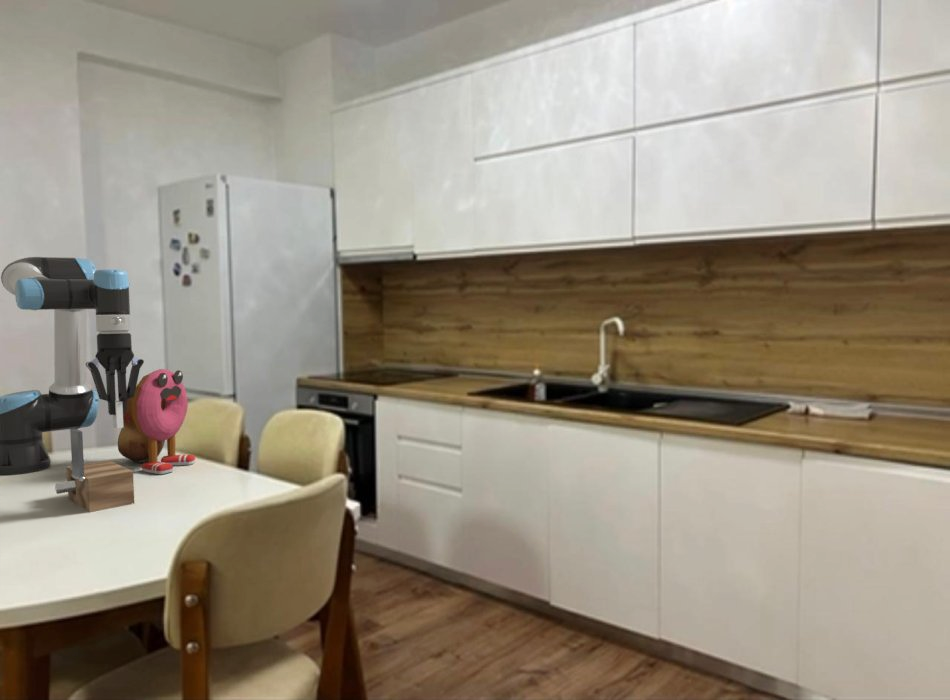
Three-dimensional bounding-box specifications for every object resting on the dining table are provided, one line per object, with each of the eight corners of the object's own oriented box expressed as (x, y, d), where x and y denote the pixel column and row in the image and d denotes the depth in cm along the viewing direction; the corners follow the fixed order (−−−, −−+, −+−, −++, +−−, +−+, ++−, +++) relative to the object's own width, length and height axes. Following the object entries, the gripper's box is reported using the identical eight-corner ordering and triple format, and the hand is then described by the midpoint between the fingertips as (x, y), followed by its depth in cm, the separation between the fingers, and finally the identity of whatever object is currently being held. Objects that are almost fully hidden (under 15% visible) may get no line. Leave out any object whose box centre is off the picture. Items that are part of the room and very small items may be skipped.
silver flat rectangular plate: (71, 477, 165) (69, 428, 164) (77, 476, 166) (74, 428, 165) (80, 482, 160) (77, 432, 159) (85, 481, 161) (83, 431, 160)
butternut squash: (110, 463, 212) (106, 384, 210) (151, 455, 223) (148, 379, 221) (134, 469, 204) (130, 386, 202) (175, 460, 215) (172, 382, 213)
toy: (158, 477, 194) (154, 373, 192) (127, 476, 196) (123, 372, 194) (203, 460, 214) (199, 366, 212) (174, 459, 216) (170, 366, 215)
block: (68, 497, 174) (66, 466, 173) (110, 489, 181) (109, 460, 181) (89, 512, 161) (88, 479, 161) (134, 503, 168) (132, 471, 168)
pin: (120, 484, 180) (119, 466, 180) (126, 488, 177) (125, 469, 176) (54, 496, 170) (53, 476, 169) (60, 500, 166) (59, 480, 166)
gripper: (89, 333, 160) (94, 432, 162) (147, 331, 170) (151, 425, 171) (79, 333, 166) (84, 429, 167) (136, 331, 175) (140, 422, 176)
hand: (118, 427), depth 169 cm, fingers closed
